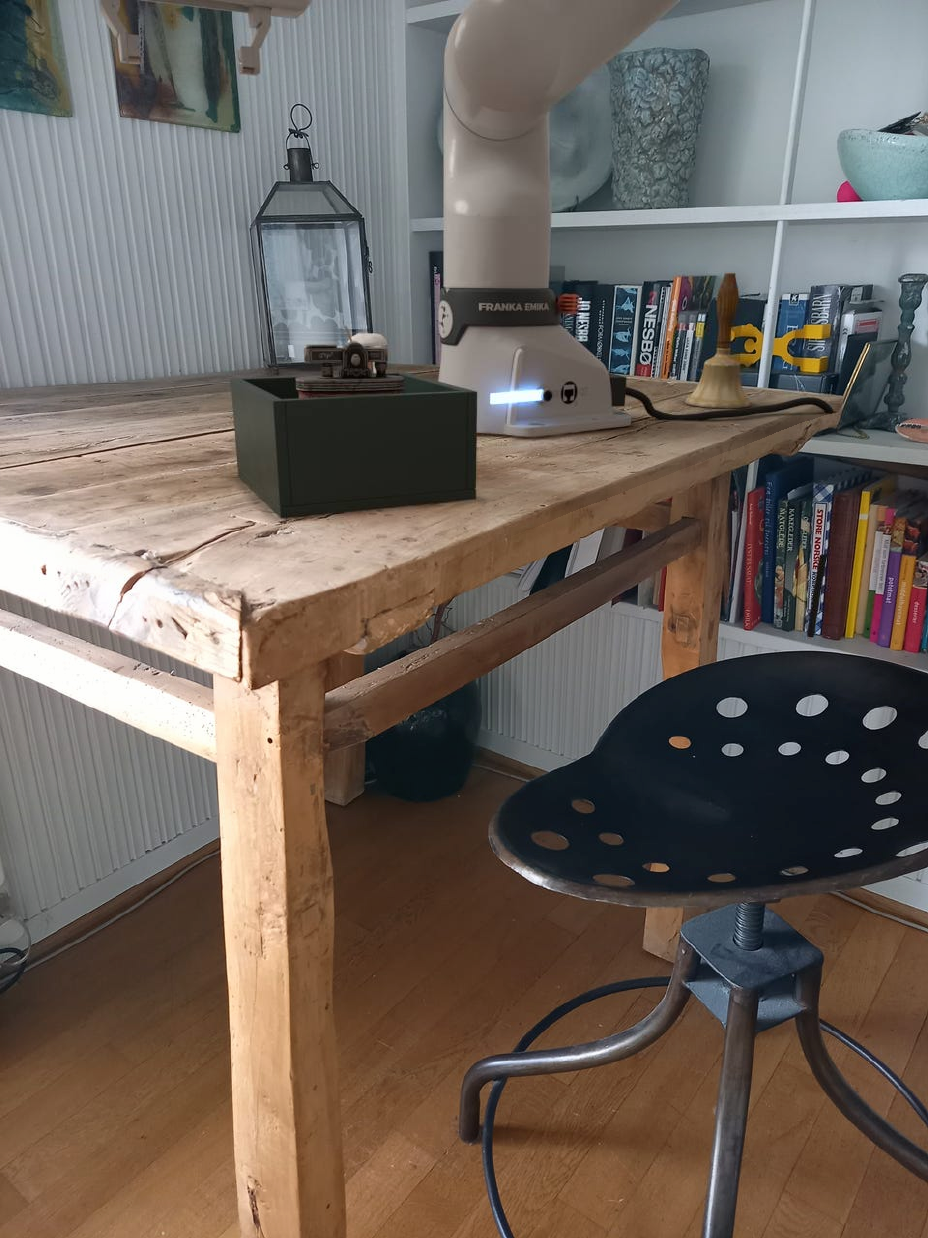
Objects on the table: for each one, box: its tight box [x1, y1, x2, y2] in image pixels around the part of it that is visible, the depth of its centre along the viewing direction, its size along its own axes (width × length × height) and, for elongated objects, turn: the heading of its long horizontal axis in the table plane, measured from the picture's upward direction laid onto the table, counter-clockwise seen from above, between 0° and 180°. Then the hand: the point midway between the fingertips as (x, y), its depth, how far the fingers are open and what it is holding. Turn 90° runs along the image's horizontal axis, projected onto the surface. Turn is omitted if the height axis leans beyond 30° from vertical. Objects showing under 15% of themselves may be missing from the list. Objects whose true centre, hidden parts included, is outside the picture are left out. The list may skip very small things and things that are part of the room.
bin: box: [229, 371, 478, 519], centre depth 69 cm, size 15×15×8 cm
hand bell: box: [684, 272, 752, 409], centre depth 115 cm, size 8×8×16 cm
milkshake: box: [344, 325, 388, 373], centre depth 106 cm, size 4×5×10 cm
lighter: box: [296, 342, 404, 398], centre depth 68 cm, size 8×3×10 cm, turn 101°
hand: (191, 68), depth 73 cm, fingers open, 8 cm apart
